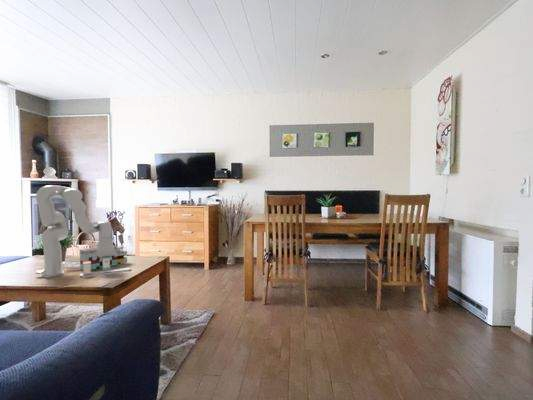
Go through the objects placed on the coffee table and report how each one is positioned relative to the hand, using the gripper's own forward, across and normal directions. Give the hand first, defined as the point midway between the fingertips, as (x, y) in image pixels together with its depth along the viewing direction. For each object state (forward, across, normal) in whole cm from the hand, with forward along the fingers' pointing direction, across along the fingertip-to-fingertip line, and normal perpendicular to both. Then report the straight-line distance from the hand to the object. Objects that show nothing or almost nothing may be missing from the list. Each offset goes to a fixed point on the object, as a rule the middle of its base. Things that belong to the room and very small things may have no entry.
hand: (106, 266), depth 206 cm
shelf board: (+5, 0, 0) cm, 5 cm away
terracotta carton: (+4, +11, 0) cm, 12 cm away
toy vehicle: (+5, -1, -20) cm, 21 cm away
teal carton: (+2, 0, 0) cm, 2 cm away
